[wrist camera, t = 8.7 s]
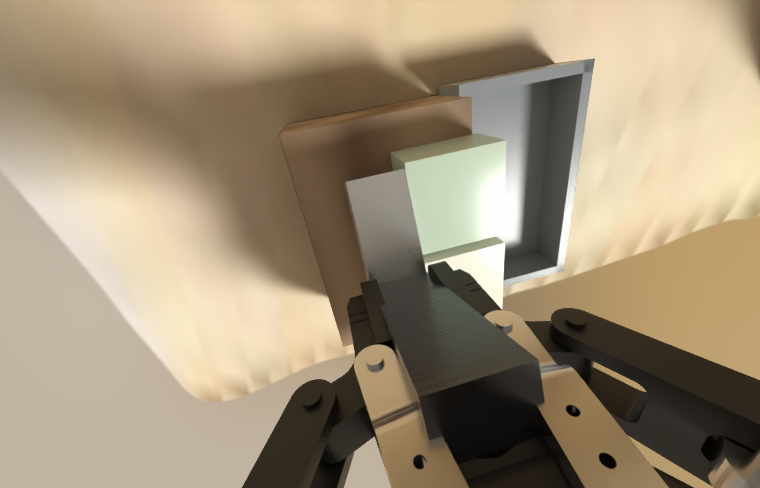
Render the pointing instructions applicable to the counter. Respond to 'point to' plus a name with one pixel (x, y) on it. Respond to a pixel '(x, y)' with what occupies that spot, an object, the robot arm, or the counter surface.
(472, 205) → the sage tile
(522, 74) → the grey tray
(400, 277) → the grey l-shaped bracket
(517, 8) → the counter surface
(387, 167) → the walnut riser
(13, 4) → the counter surface
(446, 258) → the cream tile
